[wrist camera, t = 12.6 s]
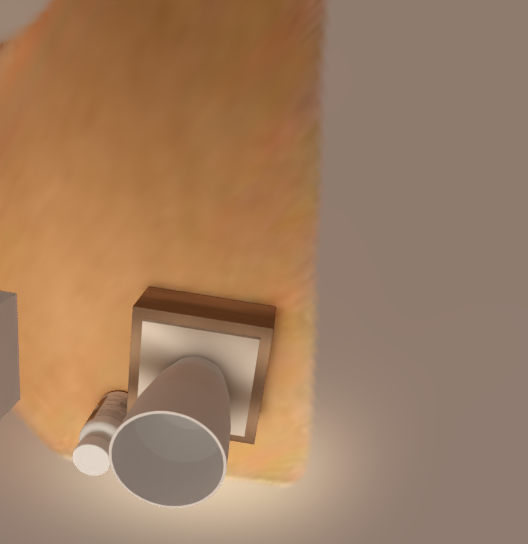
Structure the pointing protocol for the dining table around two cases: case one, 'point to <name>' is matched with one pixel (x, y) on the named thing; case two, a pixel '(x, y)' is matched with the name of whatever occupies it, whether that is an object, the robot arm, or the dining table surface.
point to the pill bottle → (100, 434)
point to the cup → (175, 436)
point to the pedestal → (204, 346)
